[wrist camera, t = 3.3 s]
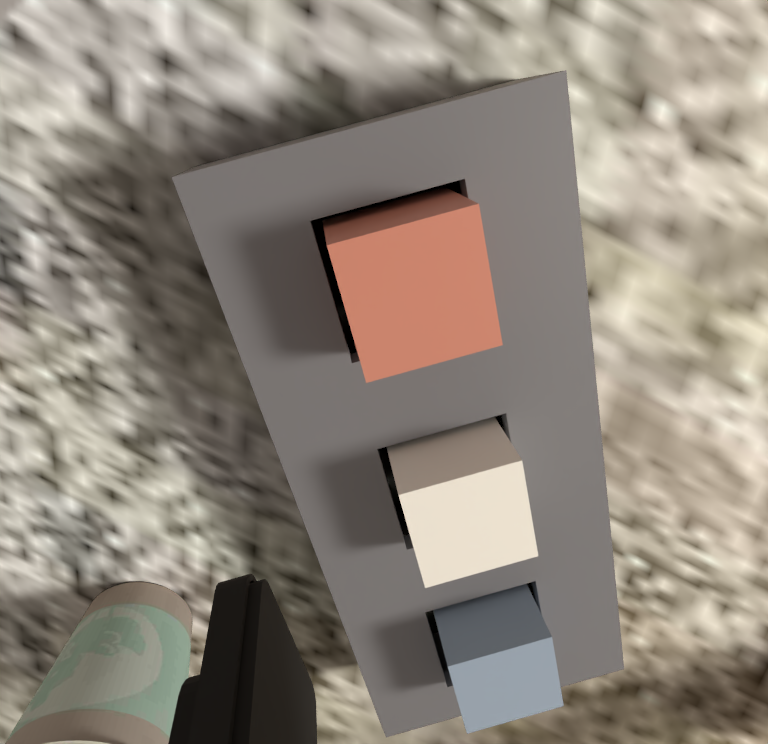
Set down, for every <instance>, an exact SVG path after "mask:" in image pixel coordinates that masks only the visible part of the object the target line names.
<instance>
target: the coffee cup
mask: <svg viewBox="0 0 768 744" xmlns="http://www.w3.org/2000/svg"><path fill="white" fill-rule="evenodd" d="M191 634H192V614H191V611H190V609H189V607H188V605H187V604H186V602H185V601H184V600H183V599H182V598H181V597H180V596H179V595H178V594H176V593H175V592H173V591H172V590H170V589H168V588H165V587H163V586H160V585H156V584H152V583H146V582H130V583H124V584H120V585H116V586H114V587H111V588H109V589H107V590H105V591H103V592H102V593H101V594H99V595H98V596H97V597H96V598H95V599H94V600H93V601H92V603H91V604H90V606H89V608H88V609H87V611H86V613H85V614H84V616H83V617H82V619H81V621H80V622H79V624H78V625H77V627H76V629H75V630H74V632H73V633H72V635H71V637H70V638H69V640H68V642H67V643H66V645H65V646H64V648H63V650H62V651H61V653H60V655H59V656H58V658H57V660H56V661H55V663H54V664H53V666H52V668H51V669H50V671H49V673H48V674H47V676H46V677H45V679H44V681H43V682H42V684H41V686H40V687H39V689H38V691H37V692H36V694H35V695H34V697H33V699H32V700H31V702H30V704H29V705H28V707H27V709H26V710H25V712H24V713H23V715H22V717H21V718H20V720H19V722H18V723H17V725H16V726H15V728H14V730H13V731H12V733H11V735H10V736H9V738H8V740H7V741H6V743H5V744H168V743H169V738H170V733H171V728H172V724H173V719H174V714H175V709H176V705H177V700H178V695H179V692H180V689H181V686H182V684H183V683H184V681H185V680H186V679H188V675H189V662H190V649H191Z"/></svg>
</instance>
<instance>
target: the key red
mask: <svg viewBox="0 0 768 744" xmlns="http://www.w3.org/2000/svg"><path fill="white" fill-rule="evenodd" d="M322 221H323V227H324V232H325V238H326V244H327V248H328V251H329V255H330V258H331V262H332V265H333V269H334V272H335V276H336V279H337V283H338V286H339V290H340V293H341V297H342V300H343V304H344V307H345V311H346V314H347V318H348V321H349V325H350V328H351V332H352V335H353V339H354V342H355V346H356V349H357V352H358V356H359V359H360V363H361V366H362V370H363V373H364V377H365V380H366V383H368V382H372V381H375V380H379V379H383V378H386V377H390V376H393V375H397V374H401V373H404V372H408V371H411V370H415V369H419V368H422V367H426V366H429V365H433V364H437V363H440V362H444V361H447V360H451V359H455V358H458V357H462V356H465V355H469V354H473V353H476V352H480V351H483V350H487V349H491V348H494V347H498V346H501V345H503V343H502V338H501V332H500V326H499V320H498V314H497V308H496V302H495V296H494V290H493V284H492V278H491V272H490V266H489V261H488V255H487V249H486V243H485V237H484V231H483V225H482V219H481V213H480V207H479V204H478V203H476V202H474V201H472V200H470V199H468V198H466V197H464V196H462V195H460V194H458V193H456V192H454V191H452V190H450V189H448V188H446V187H442V188H438V189H434V190H431V191H427V192H423V193H420V194H416V195H412V196H409V197H405V198H401V199H398V200H394V201H390V202H387V203H383V204H379V205H376V206H372V207H368V208H365V209H361V210H357V211H354V212H350V213H346V214H343V215H339V216H335V217H332V218H328V219H324V220H322Z"/></svg>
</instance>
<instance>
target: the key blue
mask: <svg viewBox="0 0 768 744" xmlns="http://www.w3.org/2000/svg"><path fill="white" fill-rule="evenodd" d="M433 612H434V616H435V620H436V624H437V627H438V631H439V635H440V639H441V643H442V647H443V650H444V654H445V658H446V662H447V666H448V669H449V673H450V676H451V680H452V683H453V687H454V690H455V694H456V697H457V701H458V704H459V708H460V711H461V715H462V718H463V722H464V725H465V729H466V732H467V734H468V733H472V732H475V731H478V730H482V729H485V728H489V727H492V726H496V725H499V724H503V723H506V722H510V721H513V720H517V719H520V718H524V717H527V716H531V715H534V714H538V713H541V712H545V711H548V710H552V709H555V708H558V707H562V706H564V705H563V699H562V693H561V687H560V681H559V675H558V669H557V663H556V657H555V651H554V645H553V640H552V636H551V634H550V632H549V629H548V627H547V625H546V623H545V621H544V619H543V617H542V615H541V613H540V611H539V608H538V606H537V604H536V602H535V600H534V598H533V596H532V594H531V592H530V590H529V588H528V585H527V584H523V585H520V586H516V587H513V588H509V589H506V590H502V591H499V592H495V593H492V594H488V595H485V596H481V597H478V598H474V599H470V600H467V601H463V602H460V603H456V604H453V605H449V606H446V607H442V608H439V609H435V610H433Z"/></svg>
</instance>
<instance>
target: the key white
mask: <svg viewBox="0 0 768 744" xmlns="http://www.w3.org/2000/svg"><path fill="white" fill-rule="evenodd" d="M387 451H388V455H389V459H390V463H391V467H392V471H393V475H394V479H395V483H396V487H397V491H398V495H399V499H400V502H401V506H402V509H403V513H404V516H405V520H406V523H407V527H408V530H409V534H410V537H411V541H412V544H413V547H414V551H415V554H416V558H417V561H418V565H419V568H420V572H421V575H422V579H423V582H424V586H425V588H428V587H431V586H435V585H438V584H442V583H445V582H449V581H452V580H456V579H459V578H463V577H466V576H470V575H474V574H477V573H481V572H484V571H488V570H491V569H495V568H498V567H502V566H505V565H509V564H512V563H516V562H519V561H523V560H527V559H530V558H534V557H537V556H538V551H537V545H536V539H535V533H534V527H533V521H532V515H531V509H530V503H529V497H528V492H527V486H526V480H525V474H524V468H523V462H522V459H521V458H520V456H519V455H518V453H517V451H516V450H515V448H514V447H513V445H512V443H511V442H510V440H509V439H508V437H507V436H506V434H505V432H504V431H503V429H502V428H501V426H500V425H499V423H498V421H497V420H496V418H495V417H491V418H487V419H484V420H480V421H477V422H473V423H469V424H466V425H462V426H459V427H455V428H452V429H448V430H444V431H441V432H437V433H434V434H430V435H426V436H423V437H419V438H416V439H412V440H409V441H405V442H401V443H398V444H394V445H391V446H387Z"/></svg>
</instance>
